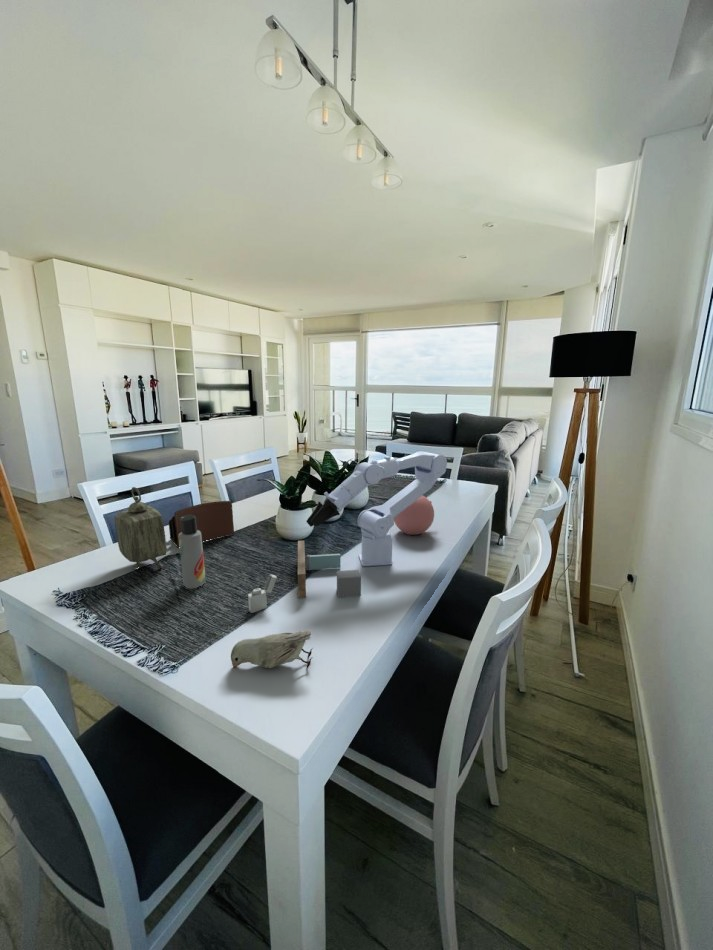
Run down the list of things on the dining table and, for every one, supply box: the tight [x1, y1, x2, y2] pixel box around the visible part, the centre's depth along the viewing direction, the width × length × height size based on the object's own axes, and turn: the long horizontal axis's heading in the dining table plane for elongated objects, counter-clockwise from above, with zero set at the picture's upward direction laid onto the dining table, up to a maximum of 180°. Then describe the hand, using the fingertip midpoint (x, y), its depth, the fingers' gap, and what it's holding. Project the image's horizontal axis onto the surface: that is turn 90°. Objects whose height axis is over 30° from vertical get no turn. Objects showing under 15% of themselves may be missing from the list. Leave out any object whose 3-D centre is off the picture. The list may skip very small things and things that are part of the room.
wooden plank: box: [297, 540, 307, 599], centre depth 110 cm, size 2×22×7 cm, turn 8°
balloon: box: [394, 494, 435, 536], centre depth 144 cm, size 15×20×15 cm
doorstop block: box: [336, 569, 362, 598], centre depth 102 cm, size 6×4×6 cm, turn 98°
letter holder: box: [168, 500, 235, 548], centre depth 137 cm, size 10×20×14 cm, turn 130°
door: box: [305, 553, 342, 571], centre depth 115 cm, size 10×2×4 cm, turn 98°
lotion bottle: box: [178, 515, 206, 589], centre depth 104 cm, size 6×6×20 cm
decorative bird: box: [230, 629, 314, 673], centre depth 75 cm, size 5×16×8 cm, turn 93°
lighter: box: [247, 573, 278, 614], centre depth 95 cm, size 7×2×8 cm, turn 125°
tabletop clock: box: [114, 486, 167, 569], centre depth 113 cm, size 14×9×25 cm, turn 47°
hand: (310, 523), depth 106 cm, fingers open, 7 cm apart
